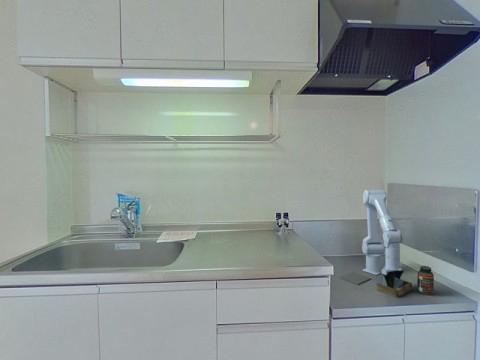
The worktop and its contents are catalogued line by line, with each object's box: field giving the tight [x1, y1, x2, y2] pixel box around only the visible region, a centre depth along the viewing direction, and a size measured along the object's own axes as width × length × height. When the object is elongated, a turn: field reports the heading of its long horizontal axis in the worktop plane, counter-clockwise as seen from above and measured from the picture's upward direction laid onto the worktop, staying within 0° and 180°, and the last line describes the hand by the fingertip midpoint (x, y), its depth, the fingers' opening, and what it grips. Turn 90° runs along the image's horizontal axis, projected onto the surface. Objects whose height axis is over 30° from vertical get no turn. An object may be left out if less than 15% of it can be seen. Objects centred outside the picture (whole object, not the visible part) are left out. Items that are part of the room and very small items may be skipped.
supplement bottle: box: [416, 265, 435, 296], centre depth 118 cm, size 6×6×11 cm
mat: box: [339, 271, 372, 286], centre depth 135 cm, size 11×10×1 cm
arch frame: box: [376, 280, 413, 298], centre depth 121 cm, size 13×9×3 cm
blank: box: [382, 276, 404, 289], centre depth 122 cm, size 4×7×5 cm, turn 33°
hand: (392, 286), depth 122 cm, fingers closed on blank, 4 cm apart
